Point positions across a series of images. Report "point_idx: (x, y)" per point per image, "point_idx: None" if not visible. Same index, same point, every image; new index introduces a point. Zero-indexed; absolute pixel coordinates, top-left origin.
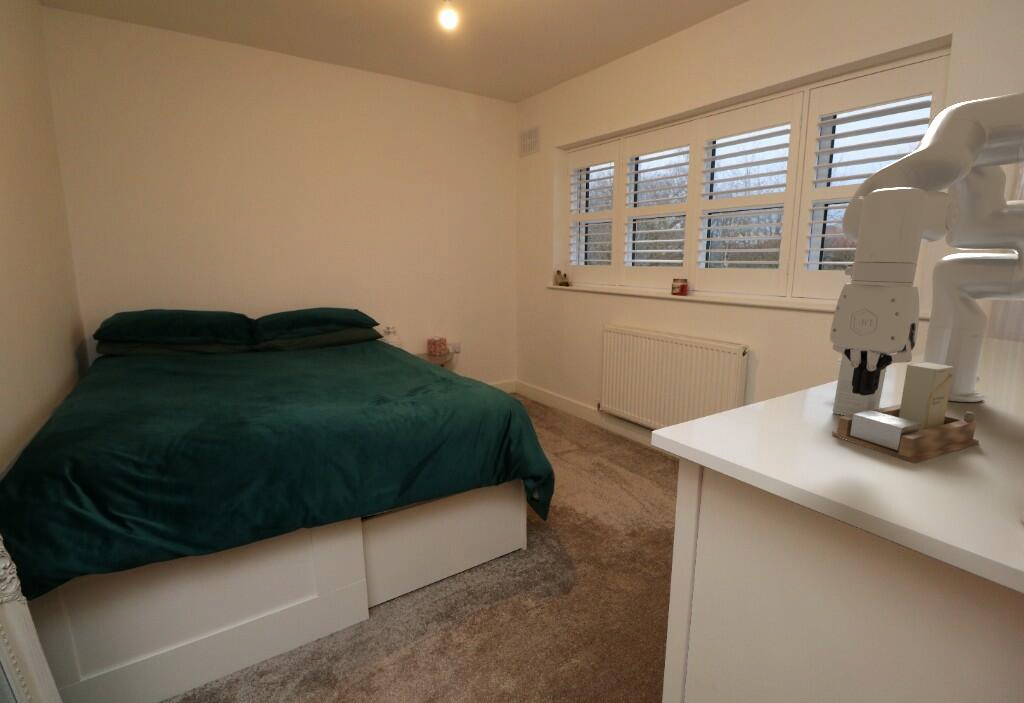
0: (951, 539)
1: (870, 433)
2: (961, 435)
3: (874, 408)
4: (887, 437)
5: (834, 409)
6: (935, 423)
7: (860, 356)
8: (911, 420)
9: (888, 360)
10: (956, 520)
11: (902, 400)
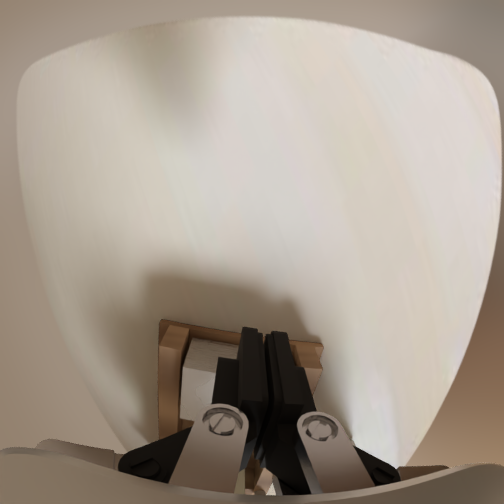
0: (56, 62)
1: None
2: None
3: None
4: (213, 353)
5: (352, 444)
6: None
7: (306, 477)
8: None
9: (125, 458)
10: (56, 120)
11: (242, 479)
